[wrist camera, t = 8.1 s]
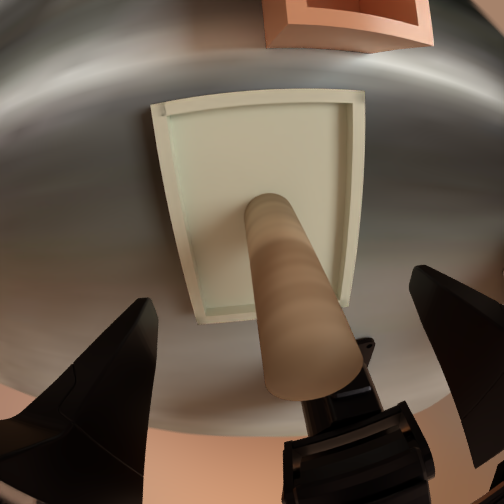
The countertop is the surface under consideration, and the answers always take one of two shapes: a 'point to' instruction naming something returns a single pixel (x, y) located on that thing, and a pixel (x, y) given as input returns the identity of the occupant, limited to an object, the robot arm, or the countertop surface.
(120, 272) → the countertop surface
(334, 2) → the orange open box
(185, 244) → the tray
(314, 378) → the pin
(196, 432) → the countertop surface
